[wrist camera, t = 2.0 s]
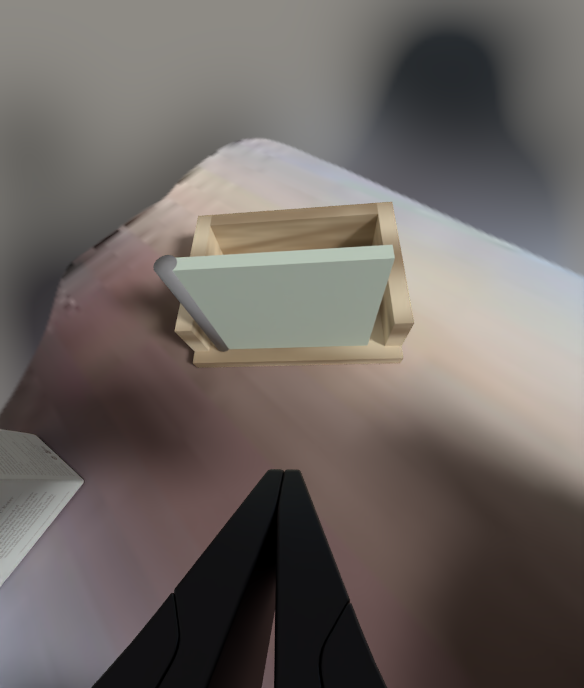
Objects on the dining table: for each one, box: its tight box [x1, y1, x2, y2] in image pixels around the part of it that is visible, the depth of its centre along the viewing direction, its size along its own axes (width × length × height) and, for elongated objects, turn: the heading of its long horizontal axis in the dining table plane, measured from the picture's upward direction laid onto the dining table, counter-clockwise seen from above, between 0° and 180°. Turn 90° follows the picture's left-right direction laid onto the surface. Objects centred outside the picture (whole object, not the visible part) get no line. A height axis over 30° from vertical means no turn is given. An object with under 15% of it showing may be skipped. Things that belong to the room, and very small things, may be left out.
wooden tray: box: [175, 202, 414, 368], centre depth 24 cm, size 12×16×4 cm
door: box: [154, 245, 395, 352], centre depth 18 cm, size 1×12×10 cm, turn 90°
